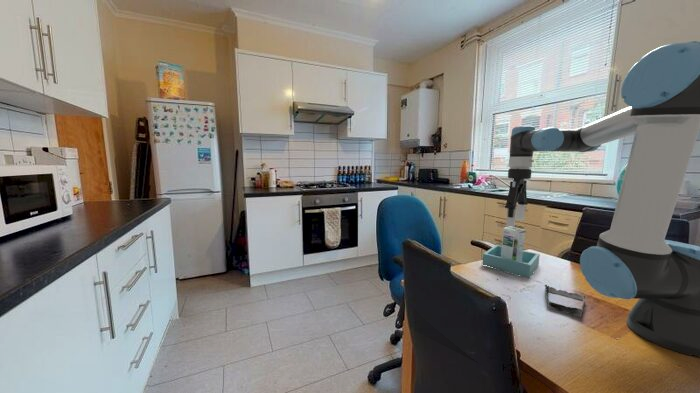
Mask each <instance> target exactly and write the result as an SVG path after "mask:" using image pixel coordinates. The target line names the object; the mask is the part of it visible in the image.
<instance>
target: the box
mask: <svg viewBox="0 0 700 393" xmlns="http://www.w3.org/2000/svg"><path fill="white" fill-rule="evenodd" d="M501 249H502V245H499V244H495V245H494V246H493V247H491V248H490V249H488V250H487V251H485V252H483V255H482V262H481V263H482V264H483V265H487V266H490V267H493V268H496V269H499V270H498V271H500V270H502V271H501V272H504V271H506V272H505V273H507V272H509V273H508V274H511V273H513V274H512V275H515V274H516V275H515V276H519V275H520V277H522V276H524V277H523V278H526V277H527V278H526V279H530V278H531V277H532V276H533V274H534V273H535V271H536V270H537V269H538V267H539V264H540V263H539V262H540V256H541V255H540V253H537V252H536V253H535V252H532V251H528V250H527V251H526V250H523V255H522V262H519V261H515V260H511V259H507V258H503V257H501ZM493 268H492V269H493ZM496 269H495V270H496ZM533 272H534V273H533ZM530 276H531V277H530Z"/></svg>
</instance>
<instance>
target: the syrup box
mask: <svg viewBox="0 0 700 393" xmlns="http://www.w3.org/2000/svg"><path fill="white" fill-rule="evenodd" d="M502 228H503V229H502V239H501V240H502V241H501V246H502V249H501V257H503V258H507V259H511V260H515V261H519V262H522V255H523V251H524V244H525V235H526V229H525V228H519V227H515V226H505V227H502Z"/></svg>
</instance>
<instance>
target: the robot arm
mask: <svg viewBox="0 0 700 393" xmlns="http://www.w3.org/2000/svg"><path fill="white" fill-rule="evenodd" d="M620 95H621V96H620V97H621V98H622V99H623V102H624V103H625V104H626V105H627V106H628V107H625V108H622V109H620V110H618V111H616V112H614V113H611V114H609V115H607V116H604V117H601V118H600V119H597V120H595V121H593V122H590V123H587V124H586V125H583V126H581V127H578V128H559V127H554V126H553V127H552V126H551V127H542V128H538V129H536V127H535V126H534V125H533V126H532V125H521V126H515V127H513V128H512V129H511V133H510V140H509V141H510V144H509V159H508V167H509V169H508V171H507V178H508V179H510V180H511V179H512V180H513V181H510V182H509V189H508V194H507V198H506V203H505V205H504V208H505V209H506V210H507V211H506V220H505V223H506V224H505V226H506V227H509V226H511V227H515V226H516V221H517V222H519V221H521V222H524V221H525V210H526V206H528V204H529V202H528V200H527V199H528V196H527V180H530V179H531V178H532V172H533V170H532V169H531V168H532V166H533V165H532V164H533V163H534V162H535V159H533V157H534V152H566V153H567V152H569V153H570V152H571V153H572V152H574V153H578V152H579V153H587V152H594V151H596V150H598V149H599V148H600V147H601V146H602V145H605V144H607V143H611V142H613V141H616V140H619V139H622V138H626V137H629V136H632V135H634V137H633V142H632V145H631V149H630V152H629V155H628V156H629V157H628V160H627V163H626V164H627V165H626V167H625V171H624V175H623V178H622V183H621V187H620V191H619V195H618V197H617V202H616V206H615V209H614V213H613V217H612V221H611V225H610V229H608V230H606V231H603V232H602V233H600V234H599V236H598V240H597V244H596V245H595V246H594V245H592V246H589V247H587V249H584V250H583V251H582V253H581V255H580V258H579V266H580V270H581V273H582V275H583V277H584V279H585V281H586V282H587V284H588V285H589V286H590V287H591V288H592V289H593V290H595V291H596V292H598V293H599V294H600V295H602V296H604V297H608V298H611V299H612V298H613V299H622V300H632V299H633V300H634V299H638V300H637V302H636V303H635V304H634V305H633V307H632V308H631V309H630V310H629V311H628V314H627V317H626V325H627V326H628V327H629V329H630V330H631V331H633V332H634V333H635V334H637V335H638V336H640V337H642V338H644V339H645V340H648V341H650V342H652V343H654V344H656V345H659V346H660V347H664V348H666V349H669V350H671V351H674V352H678V353H681V354H684V353H685V354H684V355H688V354H691V355H690V356H692V355H695V356H694V357H697V356H700V246H698V245H694V244H689V243H684V242H682V241H681V242H680V241H675V240H674V241H673V240H669V239H666V236H667V234H668V229H669V228H670V224H671V220H672V217H673V214H674V211H675V208H676V205H677V202H678V198H679V195H680V193H681V188H682V185H683V182H684V179H685V177H686V173H687V170H688V168H689V165H690V161H691V158H692V154H693V152H694V148H695V145H696V141H697V139H698V136H699V132H700V41H699V40H698V41H696V40H694V41H688V42H674V43H668V44H665V45H662V46H659V47H657V48H655V49H652V50H651V51H650V52H648V53H647V54H645V55H643V56H642V58H640V60H639V61H637V62H635V63H634V64H633V66H632V67H631V68H630V70H628V72H627V74H626V76H625V77H624V79H623V81H622V84H621V88H620Z"/></svg>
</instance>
